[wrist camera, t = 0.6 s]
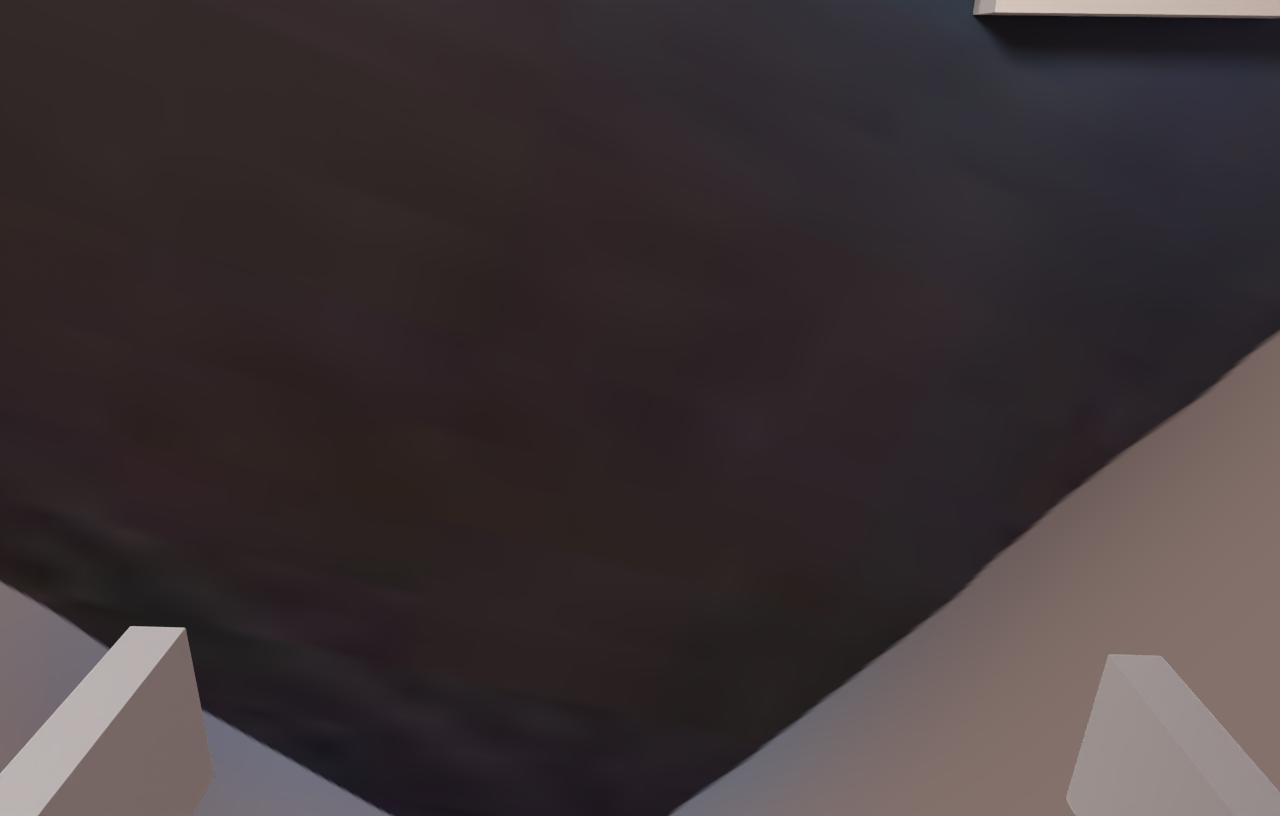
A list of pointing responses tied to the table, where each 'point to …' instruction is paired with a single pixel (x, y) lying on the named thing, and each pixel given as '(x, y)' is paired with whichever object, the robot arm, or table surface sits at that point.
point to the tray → (1132, 8)
